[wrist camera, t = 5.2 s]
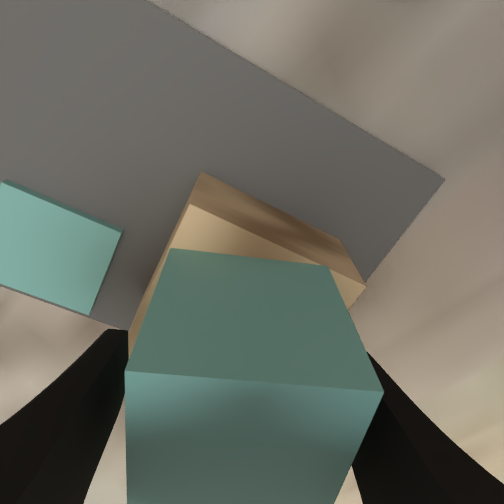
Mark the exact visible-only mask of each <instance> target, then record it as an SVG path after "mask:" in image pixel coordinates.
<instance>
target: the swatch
mask: <svg viewBox="0 0 504 504" xmlns="http://www.w3.org/2000/svg"><path fill="white" fill-rule="evenodd" d="M123 230H124V229H122V228H119V227H117V226H115V225H112V224H110V223H108V222H105V221H103V220H101V219H98V218H96V217H94V216H91V215H89V214H87V213H84V212H82V211H80V210H77V209H75V208H73V207H70V206H68V205H66V204H63V203H61V202H58V201H56V200H54V199H51V198H49V197H47V196H44V195H42V194H40V193H37V192H35V191H33V190H30V189H28V188H26V187H23V186H21V185H19V184H16V183H14V182H12V181H9V180H7V179H6V180H4V181H2V182H1V184H0V284H3V285H5V286H8V287H11V288H14V289H17V290H19V291H22V292H25V293H28V294H31V295H33V296H36V297H39V298H42V299H45V300H47V301H50V302H53V303H56V304H59V305H61V306H64V307H67V308H70V309H72V310H75V311H78V312H81V313H84V314H86V315H89V314H90V312H91V311H92V308H93V306H94V303H95V301H96V298H97V296H98V293H99V291H100V288H101V286H102V283H103V280H104V278H105V275H106V273H107V270H108V268H109V265H110V263H111V260H112V258H113V255H114V253H115V250H116V248H117V245H118V243H119V240H120V238H121V235H122V233H123Z"/></svg>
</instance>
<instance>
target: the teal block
mask: <svg viewBox="0 0 504 504" xmlns="http://www.w3.org/2000/svg"><path fill="white" fill-rule="evenodd" d="M383 394H384V390H383V388H382V386H381V384H380V381H379V379H378V377H377V375H376V372H375V370H374V368H373V366H372V363H371V361H370V359H369V357H368V355H367V352H366V350H365V348H364V346H363V343H362V341H361V339H360V337H359V334H358V332H357V330H356V328H355V325H354V323H353V321H352V319H351V317H350V314H349V312H348V310H347V308H346V305H345V303H344V301H343V299H342V296H341V294H340V292H339V290H338V287H337V285H336V283H335V281H334V279H333V276H332V274H331V272H330V270H329V267H328V266H324V265H316V264H307V263H298V262H290V261H281V260H273V259H264V258H255V257H247V256H238V255H229V254H221V253H212V252H203V251H195V250H186V249H177V248H170V250H169V253H168V256H167V258H166V261H165V264H164V266H163V269H162V272H161V274H160V277H159V280H158V283H157V285H156V288H155V291H154V293H153V296H152V299H151V301H150V304H149V307H148V309H147V312H146V315H145V317H144V320H143V323H142V325H141V328H140V331H139V333H138V336H137V339H136V342H135V344H134V347H133V350H132V352H131V355H130V358H129V360H128V363H127V366H126V368H125V421H126V474H127V504H334V502H335V500H336V498H337V496H338V494H339V491H340V489H341V487H342V485H343V482H344V480H345V478H346V476H347V474H348V471H349V469H350V467H351V465H352V463H353V460H354V458H355V456H356V454H357V451H358V449H359V447H360V445H361V443H362V440H363V438H364V436H365V434H366V431H367V429H368V427H369V425H370V423H371V420H372V418H373V416H374V414H375V411H376V409H377V407H378V405H379V403H380V400H381V398H382V396H383Z"/></svg>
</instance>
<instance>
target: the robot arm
mask: <svg viewBox="0 0 504 504" xmlns="http://www.w3.org/2000/svg"><path fill="white" fill-rule="evenodd" d="M367 355H368V357H369V359H370V361H371V363H372V366H373V368H374V370H375V372H376V375H377V377H378V379H379V381H380V384H381V386H382V388H383V390H384V394H383V396H382V398H381V400H380V403H379V405H378V407H377V409H376V411H375V414H374V416H373V418H372V420H371V423H370V425H369V427H368V429H367V431H366V434H365V436H364V438H363V440H362V443H361V445H360V447H359V449H358V451H357V454H356V456H355V458H354V460H353V463H352V468H353V472H354V475H355V478H356V481H357V485H358V488H359V491H360V495H361V498H362V502H363V504H504V484H503V483H502V482H500V481H499V480H498V479H496V478H495V477H494V476H493V475H491V474H490V473H489V472H488V471H486V470H485V469H484V468H483V467H482V466H480V465H479V464H478V463H477V462H476V461H475V460H473V459H472V458H471V457H470V456H469V455H468V454H467V453H465V452H464V451H463V450H462V449H461V448H460V447H458V446H457V445H456V444H455V443H454V442H453V441H452V440H451V439H450V438H449V437H448V436H447V435H445V434H444V433H443V432H442V431H441V430H440V429H439V428H438V427H437V426H436V425H435V424H434V423H433V422H432V421H431V420H430V419H429V418H428V417H427V416H426V415H425V414H424V413H423V412H422V411H421V410H420V409H419V408H418V407H417V406H416V405H415V404H414V402H413V401H412V400H411V399H410V398H409V397H408V396H407V395H406V394H405V393H404V392H403V391H402V390H401V388H400V387H399V386H398V385H397V384H396V383H395V382H394V381H393V380H392V378H391V377H390V376H389V375H388V374H387V373H386V372H385V371H384V370H383V368H382V367H381V366H380V365H379V364H378V363H377V362H376V361H375V360H374V358H373V357H372V356H371V355H370V354H369V353H368V352H367ZM128 360H129V349H128V330H117V329H107V330H106V331H104V333H103V334H102V335H101V336H100V337H99V338H98V339H97V340H96V341H95V342H94V343H93V344H92V345H91V346H90V347H89V348H88V349H87V350H86V351H85V352H84V353H83V354H82V355H81V356H80V357H79V358H78V359H77V360H76V361H75V362H74V363H73V364H72V365H71V366H70V367H69V368H67V369H66V370H65V371H64V372H63V373H62V374H61V375H60V376H59V377H58V378H57V379H56V380H55V381H53V382H52V383H51V384H50V385H49V386H48V387H47V388H45V389H44V390H43V391H42V392H41V393H40V394H38V395H37V396H36V397H35V398H34V399H33V400H31V401H30V402H29V403H28V404H27V405H25V406H24V407H23V408H22V409H20V410H19V411H18V412H17V413H15V414H14V415H13V416H11V417H10V418H9V419H8V420H6V421H5V422H4V423H2V424H1V425H0V504H83V503H84V500H85V497H86V495H87V492H88V489H89V486H90V484H91V481H92V479H93V476H94V474H95V471H96V469H97V466H98V464H99V461H100V459H101V456H102V454H103V451H104V449H105V446H106V444H107V441H108V439H109V436H110V434H111V431H112V429H113V426H114V424H115V421H116V419H117V416H118V414H119V411H120V408H121V405H122V401H123V398H124V394H125V368H126V366H127V363H128Z"/></svg>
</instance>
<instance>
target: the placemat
mask: <svg viewBox="0 0 504 504" xmlns="http://www.w3.org/2000/svg"><path fill="white" fill-rule="evenodd" d="M201 171H202V172H204V173H206V174H208V175H210V176H212V177H214V178H216V179H218V180H220V181H222V182H224V183H226V184H228V185H230V186H232V187H234V188H236V189H239V190H241V191H243V192H245V193H247V194H249V195H251V196H253V197H255V198H257V199H259V200H261V201H263V202H265V203H267V204H269V205H271V206H273V207H275V208H277V209H279V210H281V211H283V212H285V213H287V214H289V215H291V216H293V217H295V218H297V219H299V220H301V221H303V222H305V223H307V224H309V225H311V226H313V227H315V228H317V229H319V230H321V231H323V232H325V233H327V234H329V235H332V236H334V237H336V238H338V239H339V240H340V241H341V243H342V245H343V246H344V248H345V250H346V252H347V253H348V255H349V257H350V258H351V260H352V262H353V264H354V265H355V267H356V269H357V271H358V272H359V274H360V276H361V277H362V279H363V281H364V283H365V282H366V281H367V279H368V278H369V277H370V275H371V274H372V273H373V272H374V270H375V269H376V268H377V266H378V265H379V264H380V263H381V261H382V260H383V259H384V257H385V256H386V255H387V254H388V252H389V251H390V250H391V248H392V247H393V246H394V245H395V243H396V242H397V241H398V240H399V238H400V237H401V236H402V234H403V233H404V232H405V231H406V229H407V228H408V227H409V225H410V224H411V223H412V222H413V220H414V219H415V218H416V216H417V215H418V214H419V213H420V211H421V210H422V209H423V207H424V206H425V205H426V204H427V202H428V201H429V200H430V198H431V197H432V196H433V195H434V193H435V192H436V191H437V190H438V188H439V187H440V186H441V184H442V183H443V182H444V181H445V179H444V178H443V177H441V176H439V175H438V174H436V173H434V172H433V171H431V170H429V169H428V168H426V167H424V166H423V165H421V164H419V163H418V162H416V161H414V160H413V159H411V158H409V157H408V156H406V155H404V154H402V153H401V152H399V151H397V150H396V149H394V148H392V147H391V146H389V145H387V144H386V143H384V142H382V141H381V140H379V139H377V138H376V137H374V136H372V135H371V134H369V133H367V132H366V131H364V130H362V129H361V128H359V127H357V126H356V125H354V124H352V123H351V122H349V121H347V120H345V119H344V118H342V117H340V116H339V115H337V114H335V113H334V112H332V111H330V110H329V109H327V108H325V107H324V106H322V105H320V104H319V103H317V102H315V101H314V100H312V99H310V98H309V97H307V96H305V95H304V94H302V93H300V92H299V91H297V90H295V89H294V88H292V87H290V86H288V85H287V84H285V83H283V82H282V81H280V80H278V79H277V78H275V77H273V76H272V75H270V74H268V73H267V72H265V71H263V70H262V69H260V68H258V67H257V66H255V65H253V64H252V63H250V62H248V61H247V60H245V59H243V58H242V57H240V56H238V55H237V54H235V53H233V52H231V51H230V50H228V49H226V48H225V47H223V46H221V45H220V44H218V43H216V42H215V41H213V40H211V39H210V38H208V37H206V36H205V35H203V34H201V33H200V32H198V31H196V30H195V29H193V28H191V27H190V26H188V25H186V24H185V23H183V22H181V21H179V20H178V19H176V18H174V17H173V16H171V15H169V14H168V13H166V12H164V11H163V10H161V9H159V8H158V7H156V6H154V5H153V4H151V3H149V2H148V1H146V0H0V184H1V182H2V181H4V180H6V179H7V180H9V181H12V182H14V183H16V184H19V185H21V186H23V187H26V188H28V189H30V190H33V191H35V192H37V193H40V194H42V195H44V196H47V197H49V198H51V199H54V200H56V201H58V202H61V203H63V204H66V205H68V206H70V207H73V208H75V209H77V210H80V211H82V212H84V213H87V214H89V215H91V216H94V217H96V218H98V219H101V220H103V221H105V222H108V223H110V224H112V225H115V226H117V227H119V228H122V229H124V230H123V233H122V235H121V238H120V240H119V243H118V245H117V248H116V250H115V253H114V255H113V258H112V260H111V263H110V265H109V268H108V270H107V273H106V275H105V278H104V280H103V283H102V286H101V288H100V291H99V293H98V296H97V298H96V301H95V303H94V306H93V308H92V311H91V312H90V314H89V315H86V314H84V313H81V312H78V311H75V310H72V309H70V308H67V307H64V306H61V305H59V304H56V303H53V302H50V301H47V300H45V299H42V298H39V297H36V296H33V295H31V294H28V293H25V292H22V291H19V290H17V289H14V288H11V287H8V286H5V285H3V284H0V286H2V287H5V288H7V289H10V290H13V291H16V292H19V293H21V294H24V295H27V296H30V297H33V298H35V299H38V300H41V301H44V302H47V303H49V304H52V305H55V306H58V307H61V308H64V309H66V310H69V311H72V312H75V313H78V314H80V315H83V316H86V317H89V318H92V319H94V320H97V321H100V322H103V323H106V324H108V325H111V326H114V327H117V328H120V329H122V330H128V332H129V329H130V327H131V324H132V322H133V319H134V317H135V315H136V312H137V310H138V307H139V305H140V302H141V300H142V298H143V295H144V293H145V291H146V289H147V287H148V285H149V282H150V280H151V278H152V276H153V274H154V272H155V269H156V267H157V265H158V263H159V261H160V259H161V257H162V254H163V252H164V250H165V248H166V246H167V244H168V241H169V239H170V237H171V235H172V233H173V231H174V229H175V226H176V224H177V222H178V220H179V218H180V216H181V214H182V211H183V209H184V207H185V205H186V203H187V201H188V198H189V196H190V194H191V192H192V190H193V188H194V186H195V183H196V181H197V179H198V177H199V175H200V173H201Z"/></svg>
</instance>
